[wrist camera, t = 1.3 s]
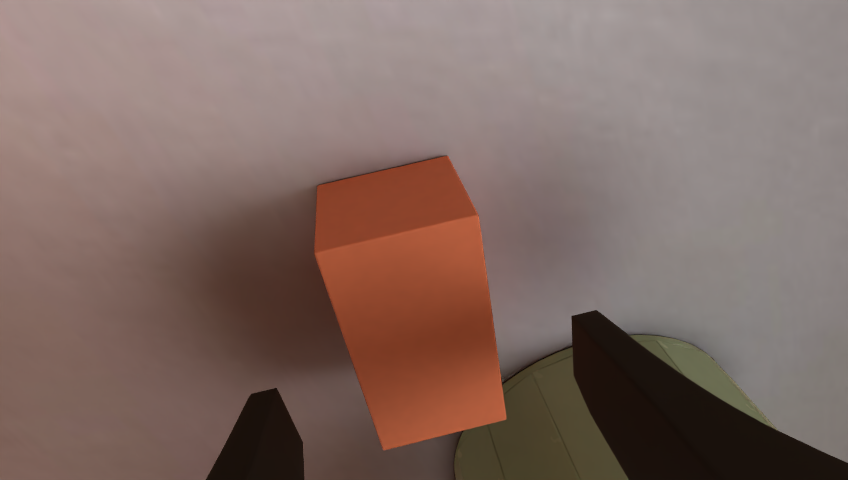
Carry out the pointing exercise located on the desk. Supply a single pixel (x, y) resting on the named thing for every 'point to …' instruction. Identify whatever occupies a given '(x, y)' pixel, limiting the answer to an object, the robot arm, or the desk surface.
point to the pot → (571, 420)
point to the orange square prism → (412, 299)
